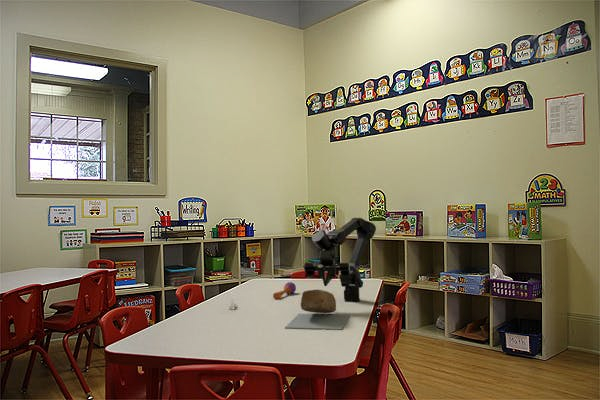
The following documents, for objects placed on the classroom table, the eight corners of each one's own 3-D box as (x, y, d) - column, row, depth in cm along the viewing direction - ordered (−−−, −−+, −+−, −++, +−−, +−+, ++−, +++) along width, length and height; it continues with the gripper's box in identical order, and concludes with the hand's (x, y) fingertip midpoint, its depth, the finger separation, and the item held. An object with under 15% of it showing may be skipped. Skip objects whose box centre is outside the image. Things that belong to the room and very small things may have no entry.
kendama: (269, 290, 233) (285, 281, 252) (272, 303, 233) (288, 293, 252) (280, 289, 231) (296, 280, 249) (283, 301, 231) (298, 291, 249)
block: (337, 294, 197) (322, 287, 179) (337, 313, 195) (323, 308, 177) (311, 295, 200) (294, 289, 182) (311, 314, 198) (295, 310, 180)
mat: (349, 315, 191) (349, 314, 191) (341, 329, 168) (341, 328, 168) (298, 314, 195) (298, 313, 195) (284, 328, 172) (284, 327, 172)
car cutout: (227, 307, 215) (227, 297, 215) (241, 308, 214) (241, 297, 214) (215, 315, 200) (215, 303, 201) (231, 315, 199) (231, 304, 199)
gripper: (304, 243, 207) (299, 272, 195) (348, 243, 203) (346, 273, 192) (308, 260, 214) (303, 289, 203) (351, 260, 210) (348, 290, 199)
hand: (325, 285), depth 199 cm, fingers closed
